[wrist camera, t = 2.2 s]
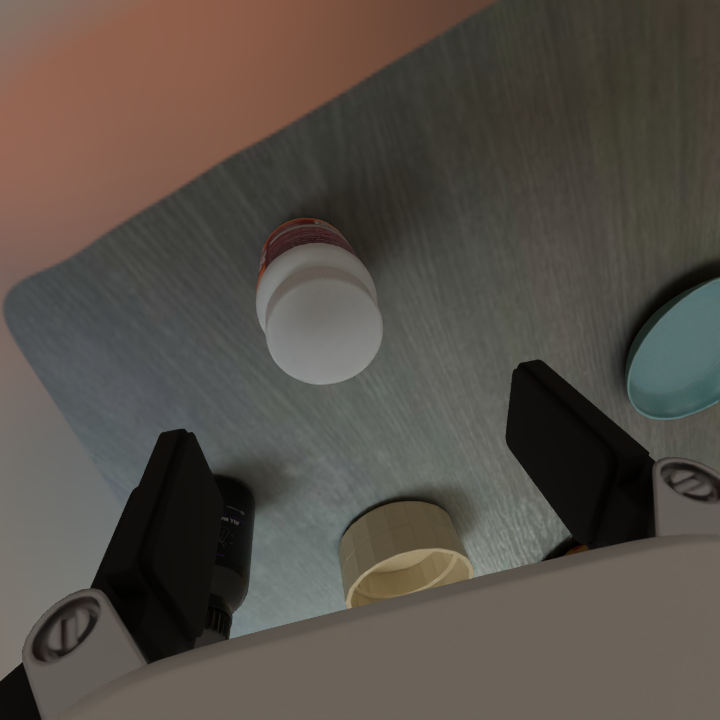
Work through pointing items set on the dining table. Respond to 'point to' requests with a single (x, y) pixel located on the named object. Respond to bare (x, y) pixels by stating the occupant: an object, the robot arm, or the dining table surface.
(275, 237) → the pill bottle
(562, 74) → the dining table surface
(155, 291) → the dining table surface
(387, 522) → the beige round bowl
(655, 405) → the saucer
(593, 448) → the robot arm
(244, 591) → the supplement bottle
